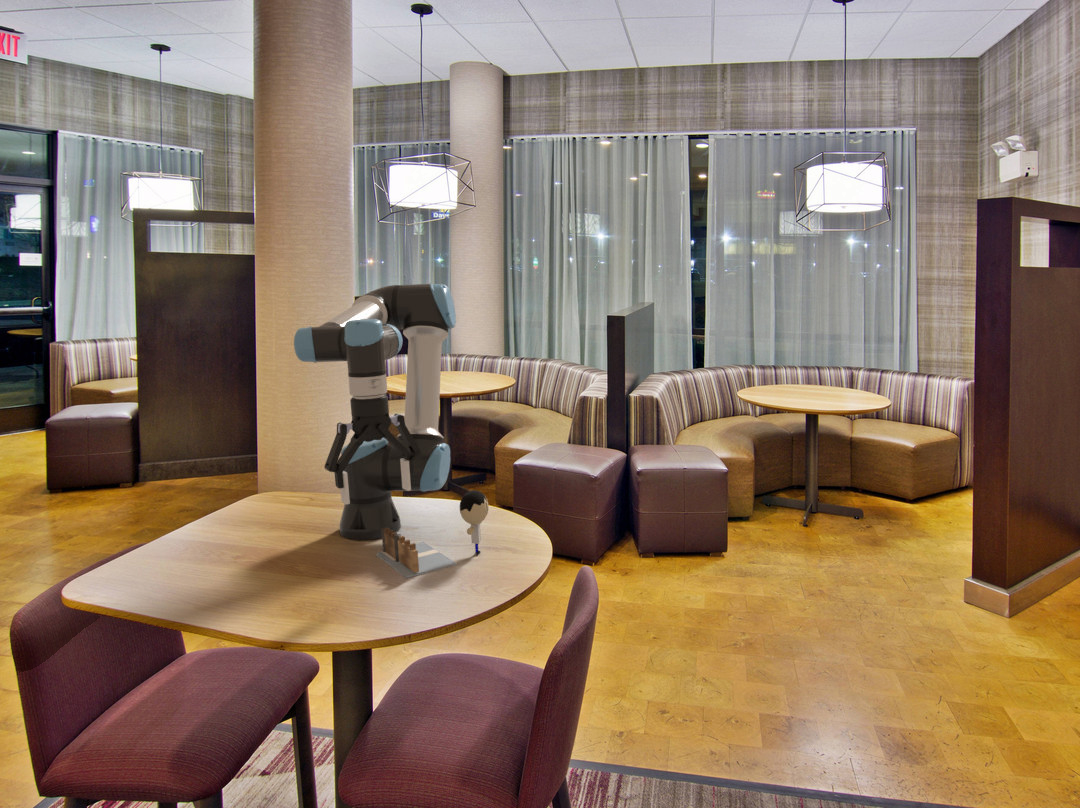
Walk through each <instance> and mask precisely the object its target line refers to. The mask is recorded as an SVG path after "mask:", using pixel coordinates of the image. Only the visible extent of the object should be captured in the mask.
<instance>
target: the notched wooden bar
mask: <svg viewBox="0 0 1080 808" xmlns="http://www.w3.org/2000/svg"><path fill="white" fill-rule="evenodd" d="M416 544H417V543H415V542H412V543H411V540H410V539H406V536H404V535H403V536H402V535H401V537H399V541H398V553H399V562H401V563H402V564H404V565H405V566H406V567H408V568H409V569H410V570H412V571H413V572H414V573H416V572H419V563H418V551H417V550H416Z"/></svg>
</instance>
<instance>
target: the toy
mask: <svg viewBox="0 0 1080 808" xmlns="http://www.w3.org/2000/svg"><path fill="white" fill-rule="evenodd" d="M488 501H489V500H488V498H487V497H486V495H485V494H484V493H483V492H481V491H479V490H476V489H475V490H469V491H467V492H466V493H465V494H464V495H463V496H462V497H461V500H460V502H459V514H460V515H461V518H462V520H464V522H466V523H467V524H469V525H470V526H469V527H468V528H467V529H466V533H467V534H468V535H470V536H471V538H470V539H471V544H474V547H475V552H474V554H475V555H480V554H481V550H479V544H480V543H481V541H482V536H481V535H482V534H481V524H482V523H483V521H485V519H486V517H487V516H488V514H489V506H490V505H489V502H488Z"/></svg>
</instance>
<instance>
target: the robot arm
mask: <svg viewBox="0 0 1080 808" xmlns="http://www.w3.org/2000/svg"><path fill="white" fill-rule="evenodd" d="M456 318H457V317H456V308H455V304H454V298H453V295H452V293H451V290H450V288H449V286H447V285H446V284H443V283H431V282H429V283H425V284H424V283H421V284H419V283H418V284H392V285H391V284H390V285H388V286H387V285H386V286H382V287H379V288H376V289H374V290H371V291H369V292H367V293H364V294H363V295H361V296H360V297H358V298H356V299H355V300H354V302H352V305H351V307H350V308H347V309H345V310H344V311H343V312H341V313H339V314H338V315H336V316H335V317H333V318H331V319H330V320H327V321H326V322H325V323H323V324H321V325H319V326H308V327H301V328H299V329H297V330H296V331H295V334H294V338H293V347H294V352H295V355H296V357H297V359H298V360H299V361H300V362H305V363H314V364H315V363H325V362H326V363H328V362H329V363H330V362H331V363H332V362H333V363H334V362H346V364H347V376H348V389H349V395H350V396H352V397H351V398H350V401H349V403H350V412H351V413H350V414H351V422H349V423H348V422H347V423H343V422H337V423H336V435H335V436H334V440H333V442H332V445H331V447H330V450H329V453H328V455H327V458H326V461H325V464H324V469H325V470H326V471H328V472H330V473H334V481H335V482H334V484H335V486H336V488H337V489H338V490H339V489H340V500H341V501H340V502H341V503H343V504H344V505H343V510H342V513H341V518H340V521H339V533H340V536H342V538H343V537H344V539H348V540H358V541H365V540H366V541H367V540H368V541H369V540H376V539H382V530H381V529H382V528H384V527H388V528H390V530H393V533H394V532H396V533H397V532H398V531H400V529H401V528H402V527H401V525H402V524H401V523H402V522H401V518H400V515H399V512H398V510H397V508H396V505H395V503H394V501H393V498H392V497H393V496H392V492H406V491H407V492H410V491H411V492H414V491H415V492H416V491H417V492H419V491H420V492H428V491H438V490H441V489H442V488H443V486H445V484H446V481H447V479H448V476H449V472H450V468H451V448H450V445H449V444H447V443H445V437H444V436H443V435H442V434H441V433H440V432H439V419H440V418H439V415H440V395H441V371H442V369H441V368H442V349H443V348H442V346H443V345H442V344H443V342H444V341H445V340H446V339H447V338H448V336H449V329H450V330H451V329H453V328H455V327H456V323H457V319H456ZM400 330H402V333H401V331H400ZM402 334H403V335H404V337H405V338H406V339H407V340H408V343H407V344H408V345H407V346H408V347H407V365H406V366H407V367H406V383H405V400H404V401H405V403H404V415H402V414H399V413H394V415H393V416H390V414H389V413H390V405H389V397H388V395H386V394H387V393H388V381H387V369H386V368H387V367H386V361H387V360H391V359H393V357H395V356H396V355H398V353H399V352H400V351H401V349H402V346H403V336H402ZM391 424H392V425H394V426H395V427H396V429H397V430H398V434H397V436H396V437H395V435H394V434H393V433H392V432H391V431H390V430H389V428H390V426H391ZM350 431H353V435H352V436H351V437H350V441H349V442H348V444H347V445H345V442H346V439H347V436H348V434H349V433H350ZM344 445H345V446H344Z"/></svg>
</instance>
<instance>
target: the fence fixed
mask: <svg viewBox="0 0 1080 808" xmlns="http://www.w3.org/2000/svg"><path fill="white" fill-rule="evenodd" d="M381 530H382V538H381V539H382V540H381V541H382V552H386V553H387V554H389V555H390V556H391V557H393V558H394V559H395V560H396V562H399V553H398V541H399V537H401V536H402V535H401V533H397V532H394V533H393V530H390V528H388V527H384V528H382V529H381Z"/></svg>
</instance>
